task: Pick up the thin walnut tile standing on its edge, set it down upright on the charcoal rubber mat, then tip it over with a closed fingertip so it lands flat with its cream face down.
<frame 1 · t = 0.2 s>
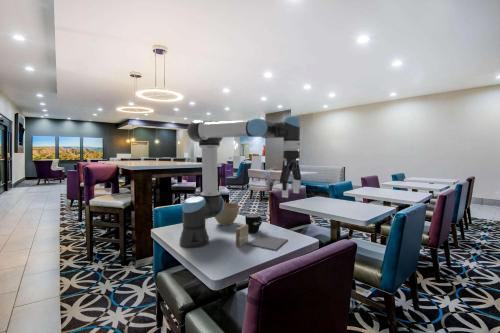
hand: (290, 195, 117), 27 cm above the table, fingers open, 13 cm apart
flower pot: (225, 224, 165), on the table
tile: (242, 243, 129), on the table
mug: (254, 231, 149), on the table
mat: (267, 242, 131), on the table
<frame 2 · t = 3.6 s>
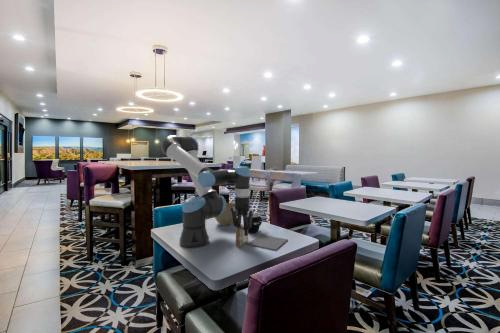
hand: (242, 240, 129), 2 cm above the table, fingers closed on tile, 2 cm apart
tile: (242, 243, 129), on the table, touching gripper
everything else where it was.
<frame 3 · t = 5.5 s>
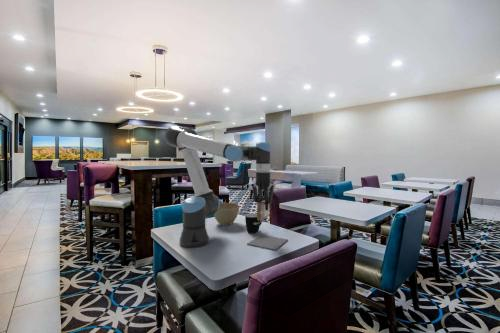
hand: (263, 215, 131), 14 cm above the table, fingers closed on tile, 2 cm apart
tile: (262, 218, 131), point 13 cm above the table, touching gripper
everything else where it was.
when the fingers open (3 cm above the table, at t = 7.5 s): tile drops 1 cm, resting on mat.
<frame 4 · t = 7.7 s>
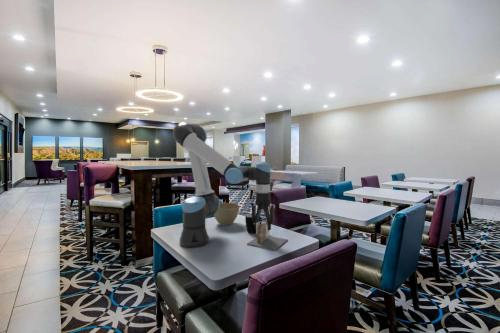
hand: (262, 235, 132), 4 cm above the table, fingers open, 5 cm apart
tile: (262, 240, 132), point 1 cm above the table, touching mat
everything else where it was.
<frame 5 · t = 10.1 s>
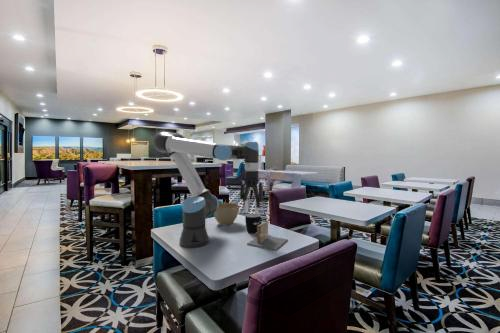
hand: (251, 212, 135), 15 cm above the table, fingers open, 6 cm apart
nothing on the table moved.
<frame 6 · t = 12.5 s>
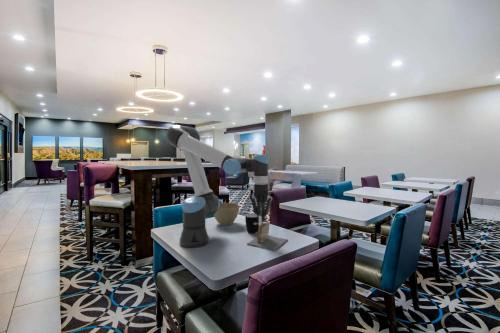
hand: (261, 227, 132), 8 cm above the table, fingers closed
tile: (262, 240, 132), point 1 cm above the table, tilted 6°, touching gripper, mat
everything else where it was.
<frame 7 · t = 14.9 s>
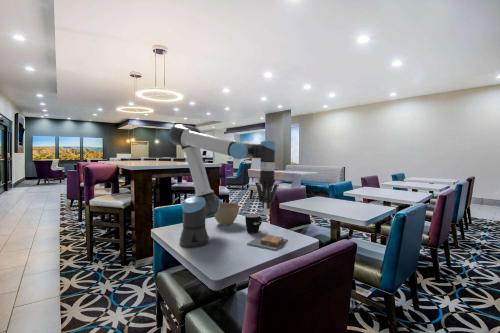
hand: (266, 214, 130), 15 cm above the table, fingers closed
tile: (264, 238, 131), point 2 cm above the table, tilted 90°, touching mat
everything else where it was.
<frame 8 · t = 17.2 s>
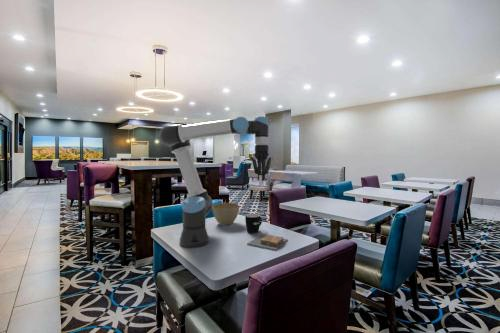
hand: (261, 186, 140), 28 cm above the table, fingers closed
nothing on the table moved.
at the end: tile tilted 90°; tile inside the target area on the mat (1.9 cm from its centre), point 1.6 cm above the mat's base; the gripper is holding nothing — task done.
